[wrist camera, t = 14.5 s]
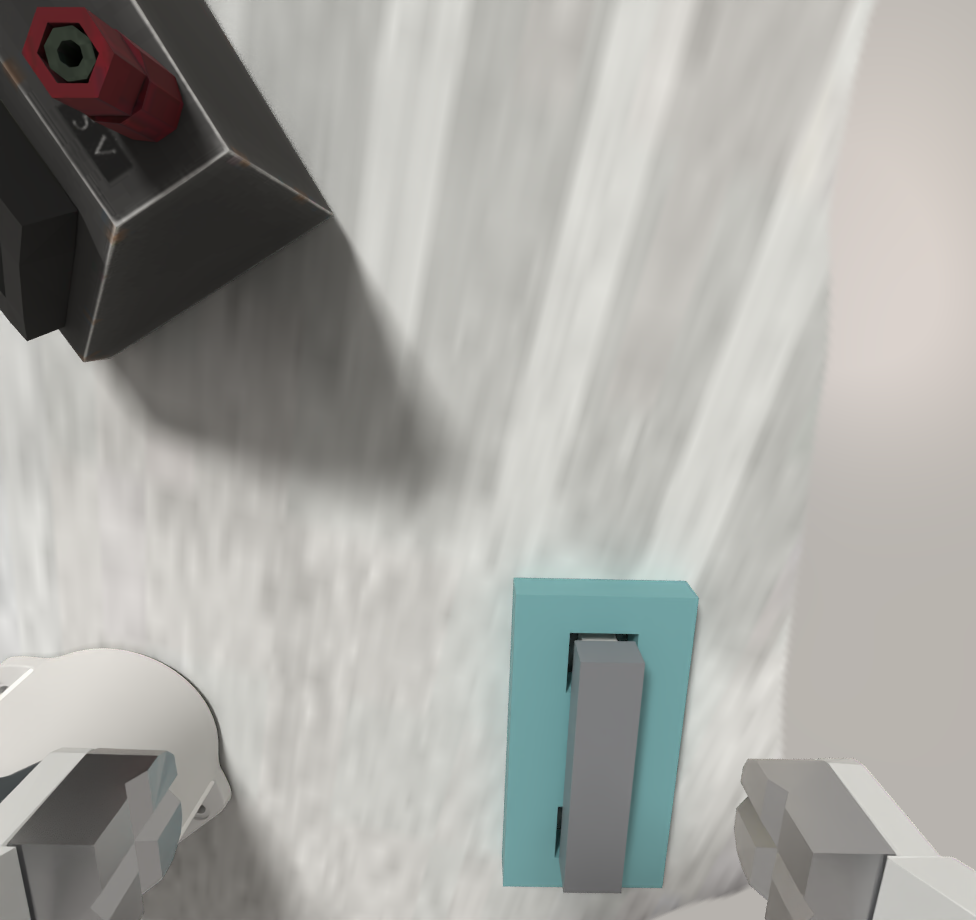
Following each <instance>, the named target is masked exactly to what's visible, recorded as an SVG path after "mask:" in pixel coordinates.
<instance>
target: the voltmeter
mask: <svg viewBox="0 0 976 920" xmlns="http://www.w3.org/2000/svg"><path fill="white" fill-rule="evenodd" d="M332 216H333V213H332V211H331V210H330V208H329V206H328V205H327V203H326V201H325V200H324V198H323V196H322V195H321V193H320V191H319V190H318V188H317V186H316V185H315V183H314V181H313V180H312V178H311V177H310V175H309V173H308V172H307V170H306V168H305V167H304V165H303V163H302V162H301V160H300V158H299V157H298V155H297V153H296V152H295V150H294V148H293V147H292V145H291V143H290V142H289V140H288V138H287V137H286V135H285V133H284V132H283V130H282V129H281V127H280V125H279V124H278V122H277V120H276V119H275V117H274V115H273V114H272V112H271V110H270V109H269V107H268V105H267V104H266V102H265V100H264V99H263V97H262V95H261V94H260V92H259V90H258V89H257V87H256V85H255V84H254V82H253V80H252V79H251V77H250V76H249V74H248V72H247V71H246V69H245V67H244V66H243V64H242V62H241V61H240V59H239V57H238V56H237V54H236V52H235V51H234V49H233V47H232V46H231V44H230V42H229V41H228V39H227V37H226V36H225V34H224V32H223V31H222V29H221V28H220V26H219V24H218V23H217V21H216V19H215V18H214V16H213V14H212V13H211V11H210V9H209V8H208V6H207V4H206V3H205V1H204V0H0V310H1V311H2V312H3V314H4V315H5V316H6V317H7V319H8V320H9V321H10V323H11V324H12V325H13V326H14V327H15V328H16V329H17V330H18V332H19V333H20V334H21V335H22V336H23V337H24V338H25V339H26V340H27V341H29V340H31V339H34V338H37V337H39V336H42V335H44V334H47V333H50V332H52V331H55V330H57V329H59V330H60V332H61V333H62V334H63V336H64V337H65V338H66V340H67V341H68V342H69V344H70V345H71V346H72V348H73V349H74V350H75V352H76V353H77V354H78V356H79V357H80V358H81V360H82V361H83V362H89V361H96V360H102V359H109V358H112V357H113V356H115V355H117V354H118V353H120V352H121V351H123V350H124V349H126V348H127V347H129V346H131V345H132V344H134V343H135V342H137V341H138V340H140V339H142V338H143V337H145V336H146V335H148V334H149V333H151V332H152V331H154V330H156V329H157V328H159V327H160V326H162V325H163V324H165V323H166V322H168V321H170V320H171V319H173V318H174V317H176V316H177V315H179V314H181V313H182V312H184V311H185V310H187V309H188V308H190V307H191V306H193V305H195V304H196V303H198V302H199V301H201V300H202V299H204V298H205V297H207V296H209V295H210V294H212V293H213V292H215V291H216V290H218V289H220V288H221V287H223V286H224V285H226V284H227V283H229V282H230V281H232V280H234V279H235V278H237V277H238V276H240V275H241V274H243V273H244V272H246V271H248V270H249V269H251V268H252V267H254V266H255V265H257V264H259V263H260V262H262V261H263V260H265V259H266V258H268V257H269V256H271V255H273V254H274V253H276V252H277V251H279V250H280V249H282V248H283V247H285V246H287V245H288V244H290V243H291V242H293V241H294V240H296V239H297V238H299V237H301V236H302V235H304V234H305V233H307V232H308V231H310V230H311V229H313V228H315V227H316V226H318V225H319V224H321V223H322V222H324V221H325V220H327V219H329V218H330V217H332Z"/></svg>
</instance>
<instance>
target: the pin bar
mask: <svg viewBox="0 0 976 920" xmlns="http://www.w3.org/2000/svg"><path fill="white" fill-rule="evenodd" d="M644 670H645V662H644V660H643V657H642V655H641V653H640V651H639V649H638V647H637V644H636V642H635V641H617V639H616V636H615V634H609V633H578V640H575V641H574V655H573V669H572V683H571V697H570V711H569V725H568V739H567V753H566V767H565V781H564V795H563V810H562V824H561V838H560V852H559V864H560V872H561V879H562V886H563V892H567V893H621V889H622V879H623V870H624V860H625V851H626V841H627V832H628V822H629V813H630V803H631V794H632V784H633V775H634V765H635V756H636V746H637V736H638V727H639V717H640V708H641V698H642V689H643V679H644Z"/></svg>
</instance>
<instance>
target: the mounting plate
mask: <svg viewBox="0 0 976 920" xmlns="http://www.w3.org/2000/svg"><path fill="white" fill-rule="evenodd" d="M698 600H699V598H698V596H697V595H696V594H695V592H694V591H693V590H692V588H691V587H690V586H689V584H688V583H687V582H686V581H651V580H601V579H551V578H514V584H513V608H512V632H511V656H510V680H509V703H508V727H507V751H506V775H505V799H504V822H503V846H502V868H503V886H521V887H563V886H562V879H561V872H560V864H559V852H560V838H561V830H556V828H557V813H558V807H563V795H564V781H565V767H566V753H567V739H568V725H569V711H570V697H571V683H572V672H567V668H568V654H569V639H570V633H609V634H628V639H627V641H635V642H636V644H637V647H638V649H639V651H640V653H641V655H642V657H643V660H644V662H645V670H644V679H643V689H642V698H641V708H640V717H639V727H638V736H637V746H636V756H635V765H634V775H633V784H632V794H631V803H630V813H629V822H628V832H627V841H626V851H625V860H624V870H623V879H622V887H624V888H662V885H663V877H664V869H665V861H666V853H667V845H668V837H669V830H670V822H671V814H672V806H673V798H674V790H675V782H676V774H677V766H678V758H679V750H680V742H681V735H682V727H683V719H684V711H685V703H686V695H687V687H688V679H689V671H690V663H691V655H692V648H693V640H694V632H695V624H696V616H697V608H698Z"/></svg>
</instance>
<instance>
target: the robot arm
mask: <svg viewBox="0 0 976 920" xmlns="http://www.w3.org/2000/svg"><path fill="white" fill-rule="evenodd" d="M741 784H742V786H743V788H744V790H745V792H746V793H747V795H748V797H747V798H746V799H745V800H744V801H743V802H742V803H741V804H740V805H739V806H738V807H737V808H736V816H735V825H734V832H735V840H736V849H737V853H738V856H739V860H740V863H741V867H742V869H743V871H744V874H745V876H746V878H747V880H748V883H749V885H750V886H751V887H752V888H754V889H755V890H756V891H757V892H758V893H759V894H761V895H762V896H763V897H764V898H765V899H766V900H768V902H767V908H766V914H765V919H766V920H976V871H975V870H973V869H972V868H970V867H969V866H967V865H965V864H964V863H962V862H960V861H959V860H957V859H955V858H954V857H941V856H940V855H939V854H938V852H937V851H936V850H935V849H934V848H933V846H932V845H931V844H930V843H929V842H928V840H927V839H926V838H925V837H924V836H923V834H922V833H921V832H920V831H919V830H918V828H916V826H915V825H914V824H913V823H912V821H911V820H910V819H909V818H908V817H907V815H906V814H905V813H904V812H903V811H902V809H901V808H900V807H899V806H898V805H897V804H896V802H895V801H894V800H893V799H892V798H891V796H890V795H889V794H888V793H887V792H886V790H885V789H884V788H883V787H882V786H881V785H880V783H879V782H878V781H877V780H876V779H875V777H874V776H873V775H872V774H871V773H870V771H869V770H868V769H867V768H866V767H865V766H864V765H863V764H862V763H861V762H859V761H857V760H856V759H854V758H831V759H830V758H829V759H828V758H820V759H819V758H818V759H817V760H815V759H748V760H747V761H746V763H745V765H744V767H743V771H742V776H741ZM230 798H231V789H230V786H229V783H228V781H227V779H226V777H225V775H224V773H223V771H222V769H221V767H220V764H219V756H218V734H217V729H216V725H215V722H214V719H213V716H212V714H211V712H210V710H209V708H208V706H207V704H206V703H205V701H204V699H203V698H202V697H201V695H200V694H199V693H198V692H197V690H196V689H195V688H194V687H193V686H192V685H191V684H190V683H189V682H188V681H187V680H186V679H185V678H183V677H182V676H181V675H180V674H178V673H177V672H176V671H174V670H173V669H171V668H169V667H168V666H166V665H164V664H163V663H161V662H159V661H157V660H154V659H152V658H150V657H147V656H144V655H141V654H138V653H135V652H131V651H126V650H120V649H109V648H96V649H87V650H81V651H76V652H73V653H69V654H66V655H62V656H59V657H54V658H40V657H29V656H15V657H10V658H7V659H6V660H4V661H3V662H2V663H1V664H0V920H140V919H141V917H142V915H143V914H144V907H143V899H142V895H143V894H144V893H145V892H147V891H148V890H149V889H151V888H152V887H153V886H154V885H156V884H157V883H158V882H160V881H161V880H162V879H163V877H164V875H165V874H166V872H167V870H168V868H169V866H170V864H171V862H172V860H173V858H174V855H175V852H176V848H177V845H178V844H179V843H180V842H181V841H183V840H184V839H185V838H187V837H188V836H189V835H191V834H192V833H193V832H195V831H196V830H197V829H199V828H200V827H201V826H203V825H204V824H205V823H207V822H208V821H210V820H211V819H212V818H214V817H215V816H216V815H218V814H219V813H220V812H221V811H222V810H223V809H224V808H225V806H226V805H227V803H228V802H229V800H230Z"/></svg>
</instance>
